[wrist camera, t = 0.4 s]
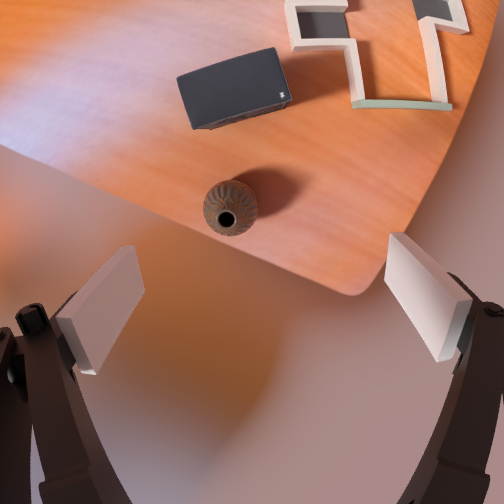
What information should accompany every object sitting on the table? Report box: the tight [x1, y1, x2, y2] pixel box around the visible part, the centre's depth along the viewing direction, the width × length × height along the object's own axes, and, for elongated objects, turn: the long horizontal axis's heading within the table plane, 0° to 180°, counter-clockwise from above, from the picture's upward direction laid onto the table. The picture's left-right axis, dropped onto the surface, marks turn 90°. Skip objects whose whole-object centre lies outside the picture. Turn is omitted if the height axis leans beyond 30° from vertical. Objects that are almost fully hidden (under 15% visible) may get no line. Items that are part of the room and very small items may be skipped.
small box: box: [177, 47, 292, 130], centre depth 31 cm, size 11×6×10 cm, turn 107°
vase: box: [203, 180, 259, 236], centre depth 38 cm, size 7×7×9 cm
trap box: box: [284, 0, 470, 111], centre depth 28 cm, size 28×28×4 cm
